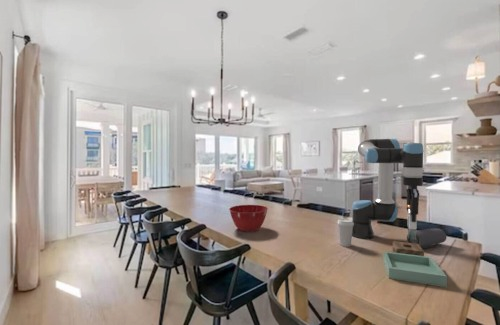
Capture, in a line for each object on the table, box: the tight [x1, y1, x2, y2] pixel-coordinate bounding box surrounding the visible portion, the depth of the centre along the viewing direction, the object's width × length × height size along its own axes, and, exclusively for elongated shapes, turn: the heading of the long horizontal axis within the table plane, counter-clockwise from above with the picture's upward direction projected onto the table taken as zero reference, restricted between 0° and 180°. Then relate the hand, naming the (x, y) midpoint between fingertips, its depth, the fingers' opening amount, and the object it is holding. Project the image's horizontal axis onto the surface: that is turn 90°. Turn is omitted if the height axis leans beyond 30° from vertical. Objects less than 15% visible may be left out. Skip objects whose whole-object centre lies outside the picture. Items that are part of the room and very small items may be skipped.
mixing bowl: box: [228, 204, 268, 233], centre depth 186 cm, size 28×28×15 cm
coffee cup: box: [337, 218, 354, 248], centre depth 153 cm, size 10×10×15 cm
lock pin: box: [406, 204, 417, 239], centre depth 117 cm, size 4×4×15 cm
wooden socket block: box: [392, 240, 425, 256], centre depth 134 cm, size 12×12×6 cm
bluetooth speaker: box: [406, 228, 447, 249], centre depth 150 cm, size 23×9×10 cm, turn 111°
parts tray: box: [382, 250, 448, 288], centre depth 117 cm, size 21×21×4 cm
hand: (411, 227), depth 117 cm, fingers closed on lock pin, 3 cm apart
